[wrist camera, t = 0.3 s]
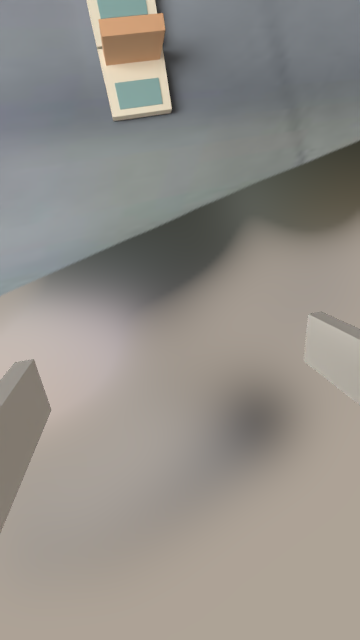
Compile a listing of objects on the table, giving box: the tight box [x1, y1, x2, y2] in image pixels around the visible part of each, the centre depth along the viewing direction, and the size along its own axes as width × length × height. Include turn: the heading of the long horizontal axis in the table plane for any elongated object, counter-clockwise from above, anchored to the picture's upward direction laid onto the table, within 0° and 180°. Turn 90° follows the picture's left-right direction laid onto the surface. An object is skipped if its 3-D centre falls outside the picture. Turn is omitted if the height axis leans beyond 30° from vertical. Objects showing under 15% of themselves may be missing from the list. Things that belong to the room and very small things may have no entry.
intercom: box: [98, 13, 172, 121], centre depth 27 cm, size 6×7×6 cm
